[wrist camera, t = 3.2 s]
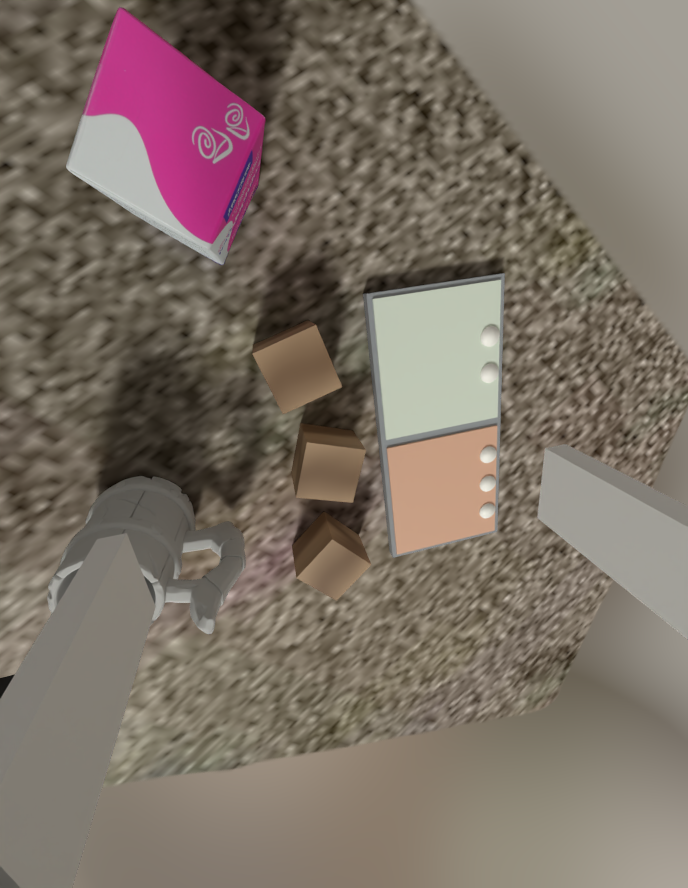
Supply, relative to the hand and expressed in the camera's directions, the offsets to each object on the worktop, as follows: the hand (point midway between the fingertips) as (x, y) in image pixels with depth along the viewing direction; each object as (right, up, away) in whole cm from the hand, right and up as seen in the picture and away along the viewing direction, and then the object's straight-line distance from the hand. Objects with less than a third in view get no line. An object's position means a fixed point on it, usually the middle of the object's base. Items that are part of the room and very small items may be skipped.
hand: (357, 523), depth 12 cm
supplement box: (-10, +18, +13) cm, 25 cm away
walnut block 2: (-2, +2, +21) cm, 21 cm away
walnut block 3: (-2, -7, +25) cm, 25 cm away
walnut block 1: (-4, +9, +18) cm, 20 cm away
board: (+8, +4, +23) cm, 24 cm away
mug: (-15, -3, +21) cm, 25 cm away
